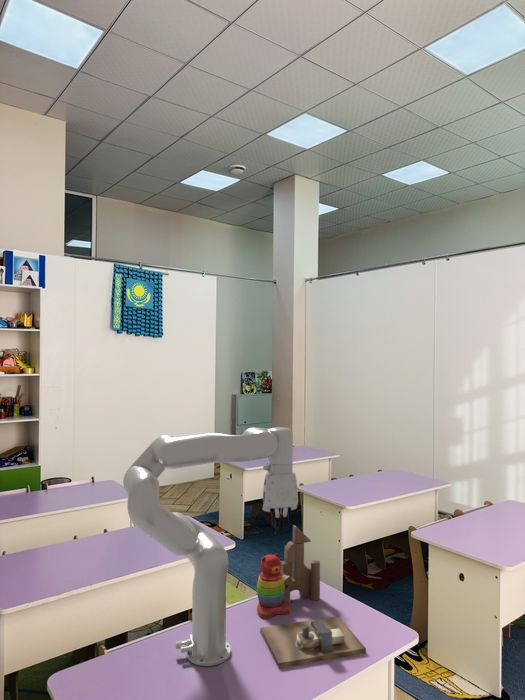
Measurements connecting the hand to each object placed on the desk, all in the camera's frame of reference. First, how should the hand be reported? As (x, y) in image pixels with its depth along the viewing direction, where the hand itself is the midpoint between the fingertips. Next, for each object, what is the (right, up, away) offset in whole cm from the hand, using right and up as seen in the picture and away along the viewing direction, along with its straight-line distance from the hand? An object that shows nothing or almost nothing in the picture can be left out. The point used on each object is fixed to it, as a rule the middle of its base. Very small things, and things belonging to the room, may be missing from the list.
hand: (279, 529), depth 150 cm
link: (+11, -30, -7) cm, 33 cm away
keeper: (+12, -30, -8) cm, 33 cm away
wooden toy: (+7, -33, +22) cm, 40 cm away
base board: (+9, -32, -4) cm, 34 cm away
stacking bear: (-2, -33, +15) cm, 36 cm away
